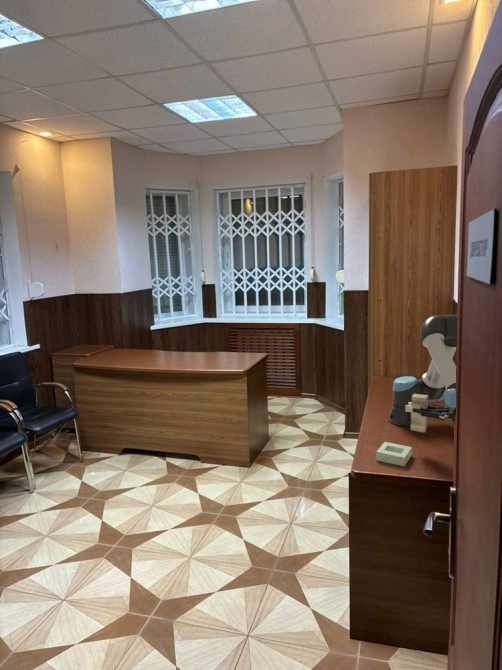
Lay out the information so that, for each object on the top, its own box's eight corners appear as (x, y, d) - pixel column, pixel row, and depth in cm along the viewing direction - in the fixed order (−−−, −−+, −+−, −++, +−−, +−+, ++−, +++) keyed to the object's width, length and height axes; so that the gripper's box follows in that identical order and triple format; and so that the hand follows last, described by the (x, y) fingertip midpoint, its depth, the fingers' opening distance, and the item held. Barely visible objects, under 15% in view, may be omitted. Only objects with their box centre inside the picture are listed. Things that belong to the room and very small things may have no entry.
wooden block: (412, 427, 214) (414, 393, 211) (426, 429, 211) (428, 395, 208) (410, 430, 211) (411, 395, 208) (424, 432, 208) (426, 398, 205)
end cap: (384, 450, 214) (384, 441, 213) (411, 455, 207) (411, 447, 207) (376, 460, 204) (376, 451, 203) (404, 466, 197) (404, 457, 197)
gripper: (459, 430, 193) (401, 420, 205) (465, 417, 207) (411, 408, 220) (460, 413, 192) (402, 404, 204) (466, 401, 206) (412, 393, 218)
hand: (407, 406), depth 212 cm, fingers closed on wooden block, 4 cm apart
